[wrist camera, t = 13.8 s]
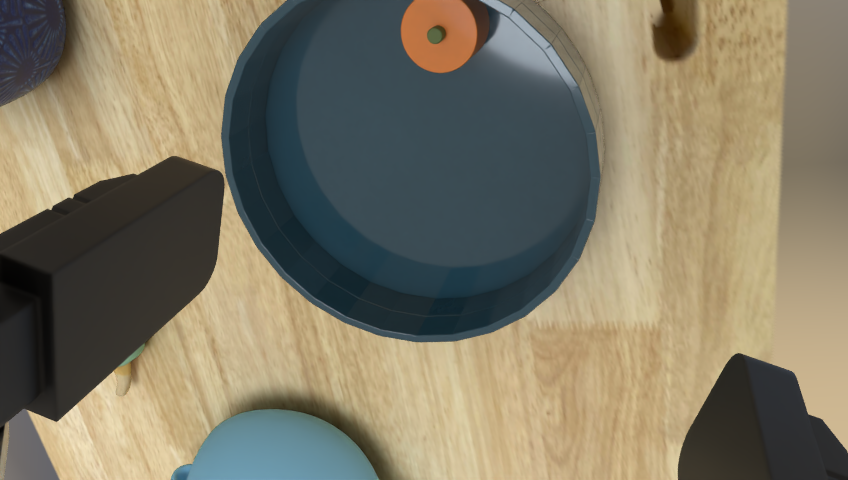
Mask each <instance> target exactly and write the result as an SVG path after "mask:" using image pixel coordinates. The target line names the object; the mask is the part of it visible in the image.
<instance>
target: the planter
mask: <svg viewBox="0 0 848 480" xmlns="http://www.w3.org/2000/svg"><path fill="white" fill-rule="evenodd" d="M65 35H66V21H65V12H64V7H63V3H62V0H0V106H3V105H5V104H7V103H10V102H12V101H14V100H16V99H18V98H20V97H22V96H24V95H25V94H27V93H29V92H30V91H32V90H34V89H35V88H36V87H38V86H39V85H40V84H41V83H43V82H44V81H45V80H46V79H47V78H48V77H49V76H50V75H51V73H52V72H53V70H54V69H55V67H56V66H57V64H58V62H59V60H60V58H61V55H62V52H63V48H64V43H65Z"/></svg>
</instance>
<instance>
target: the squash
mask: <svg viewBox="0 0 848 480" xmlns="http://www.w3.org/2000/svg"><path fill="white" fill-rule="evenodd" d="M488 32H489V15H488V11H487V8H486V6H485V4H484V3H482V2H480V1H479V0H414V1H413V2H412V3H411V4H410V5H409V6H408V8H407V9H406V11H405V13H404V16H403V19H402V23H401V38H402V43H403V46H404V48H405V50H406V52H407V54H408V55H409V57H410V58H411V59H412V60H413V61H414V62H415V63H416V64H417V65H418V66H420V67H421V68H423V69H425V70H427V71H430V72H435V73H447V72H451V71H454V70H456V69H458V68H460V67H461V66H463V65H464V64H465V63H466V62H467V61H468V60H469V59H470V58H471V57H472V56H474V55H475V54H476V53H477V52H478V51H479V50H480V49H481V47H482V46H483V44H484V43H485V41H486V39H487V36H488Z"/></svg>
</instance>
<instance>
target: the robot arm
mask: <svg viewBox="0 0 848 480" xmlns="http://www.w3.org/2000/svg"><path fill="white" fill-rule="evenodd" d="M223 197H224V178H223V175H222V173H221V172H220V171H218V170H215V169H212V168H209V167H206V166H204V165H201V164H198V163H195V162H192V161H189V160H186V159H183V158H180V157H177V156H172V157H169V158H167V159H166V160H164V161H162V162H160V163H158V164H157V165H155V166H153V167H151V168H149V169H148V170H146V171H144V172H142V173H140V174H139V175H136V174H130V175H126V176H121V177H117V178H112V179H108V180H103V181H99V182H97V183H96V184H94V185H92V186H90V187H88V188H86V189H84V190H82V191H80V192H79V193H77V194H75V195H74V197H73V199H72V198H67V199H65V200H63V201H62V202H60V203H58V204H56V205H54V206H53V208H52V210H49V209H46V210H45V211H43V212H41V213H39V214H37V215H35V216H33V217H31V218H29V219H28V220H26V221H24V222H22V223H20V224H18V225H16V226H14V227H12V228H11V229H9V230H7V231H5V232H3V233H1V234H0V480H4V472H5V464H6V457H7V449H8V441H9V426H8V421H9V420H10V419H12V418H13V417H14V416H15V415H16V414H18V413H19V412H20V411H21V410H22V409H27V410H29V411H32V412H34V413H36V414H39V415H41V416H44V417H46V418H48V419H51V420H53V421H56V422H57V421H58V420H60V419H61V418H62V417H63V416H64V415H65V414H66V413H67V412H68V411H69V410H71V409H72V408H73V407H74V406H75V405H76V404H77V403H78V402H79V401H81V400H82V399H83V398H84V397H85V396H86V395H87V394H88V393H89V392H91V391H92V390H93V389H94V388H95V387H96V386H97V385H98V384H99V383H101V382H102V381H103V380H104V379H105V378H106V377H107V376H108V375H109V374H111V373H112V372H113V371H114V370H115V369H116V368H117V367H118V366H119V365H121V364H122V363H123V362H124V361H125V360H126V359H127V358H128V357H129V356H131V355H132V354H133V353H134V352H135V351H136V350H137V349H138V348H139V347H141V346H142V345H143V344H144V343H145V342H146V341H147V340H148V339H149V338H151V337H152V336H153V335H154V334H155V333H156V332H157V331H158V330H159V329H161V328H162V327H163V326H164V325H165V324H166V323H167V322H168V321H169V320H171V319H172V318H173V317H174V316H175V315H176V314H177V313H178V312H179V311H181V310H182V309H183V308H184V307H185V306H186V305H187V304H188V303H189V302H191V301H192V300H193V299H194V298H195V297H196V296H197V295H198V294H199V293H200V292H201V291H202V290H203V289H204V288H205V286H206V285H207V283H208V281H209V280H210V278H211V275H212V273H213V271H214V268H215V265H216V261H217V255H218V245H219V236H220V226H221V216H222V207H223ZM678 480H848V453H847V450H846V449H845V448H844V447H843V445H842V444H841V443H840V442H839V440H838V439H837V438H836V436H835V435H834V434H833V433H832V432H831V430H830V429H829V428H828V426H827V425H826V424H825V423H824V421H823V420H822V419H820V418H817V417H814V416H811V415H808V413H807V410H806V406H805V403H804V400H803V397H802V394H801V391H800V387H799V384H798V381H797V378H796V376H795V374H794V373H793V372H792V371H789V370H786V369H784V368H781V367H778V366H775V365H772V364H769V363H766V362H763V361H761V360H758V359H755V358H752V357H749V356H746V355H743V354H740V353H737V354H735V355H734V356H732V357H731V359H730V360H729V361H728V362H727V364H726V365H725V367H724V369H723V371H722V372H721V374H720V376H719V378H718V379H717V381H716V383H715V385H714V387H713V388H712V390H711V392H710V394H709V395H708V397H707V399H706V401H705V402H704V404H703V406H702V408H701V410H700V411H699V413H698V415H697V417H696V418H695V420H694V422H693V424H692V425H691V427H690V429H689V431H688V433H687V435H686V437H685V440H684V443H683V446H682V449H681V453H680V458H679V463H678Z"/></svg>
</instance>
